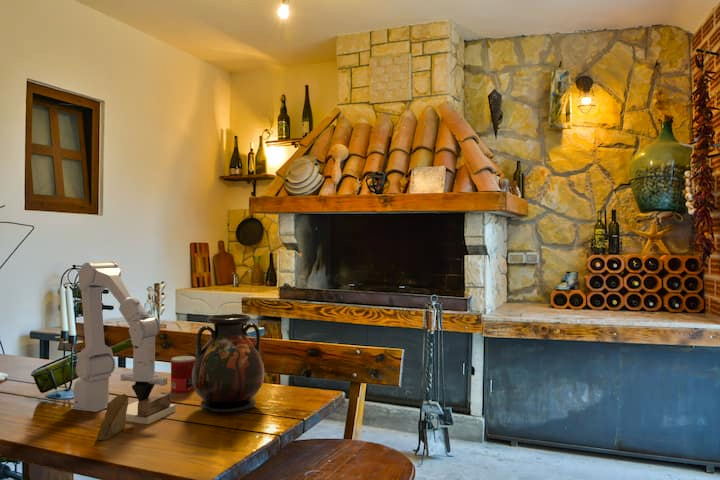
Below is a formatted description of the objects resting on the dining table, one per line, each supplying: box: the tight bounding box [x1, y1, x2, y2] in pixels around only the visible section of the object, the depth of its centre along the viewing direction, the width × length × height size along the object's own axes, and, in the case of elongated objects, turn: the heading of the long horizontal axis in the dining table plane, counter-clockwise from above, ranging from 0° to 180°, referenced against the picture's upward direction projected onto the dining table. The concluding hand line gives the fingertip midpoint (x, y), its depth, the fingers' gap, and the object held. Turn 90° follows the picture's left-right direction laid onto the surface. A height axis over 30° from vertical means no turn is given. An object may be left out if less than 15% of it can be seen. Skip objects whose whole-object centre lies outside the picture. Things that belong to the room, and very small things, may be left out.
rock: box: [95, 393, 130, 441], centre depth 142 cm, size 11×9×10 cm
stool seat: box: [126, 400, 176, 425], centre depth 157 cm, size 13×13×2 cm
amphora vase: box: [192, 313, 265, 416], centre depth 165 cm, size 22×22×28 cm
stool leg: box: [138, 391, 172, 416], centre depth 156 cm, size 12×3×4 cm, turn 164°
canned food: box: [170, 355, 196, 394], centre depth 184 cm, size 8×8×11 cm
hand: (143, 408), depth 154 cm, fingers closed
